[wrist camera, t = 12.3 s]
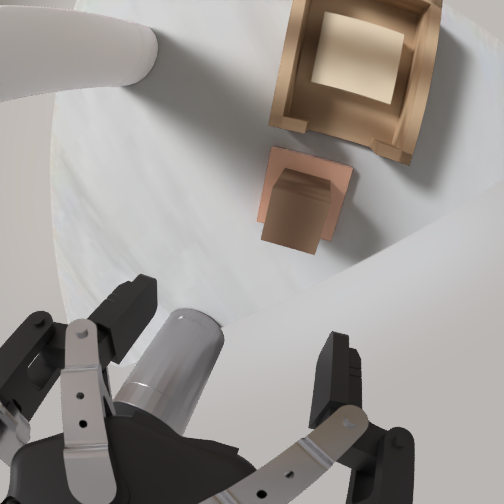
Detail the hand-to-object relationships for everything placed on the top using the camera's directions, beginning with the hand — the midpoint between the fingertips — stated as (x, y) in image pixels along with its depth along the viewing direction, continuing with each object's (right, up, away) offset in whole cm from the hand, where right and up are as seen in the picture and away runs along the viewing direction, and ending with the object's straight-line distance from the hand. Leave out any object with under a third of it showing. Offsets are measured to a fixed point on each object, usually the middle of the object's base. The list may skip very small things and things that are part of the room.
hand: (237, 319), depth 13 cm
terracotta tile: (+6, +9, +17) cm, 20 cm away
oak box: (+10, +21, +9) cm, 25 cm away
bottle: (-13, +25, +13) cm, 31 cm away
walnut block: (+6, +9, +16) cm, 19 cm away
